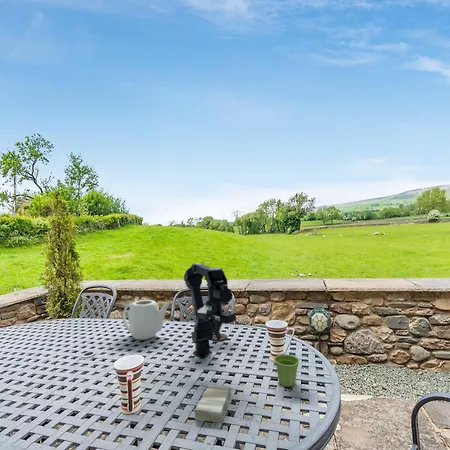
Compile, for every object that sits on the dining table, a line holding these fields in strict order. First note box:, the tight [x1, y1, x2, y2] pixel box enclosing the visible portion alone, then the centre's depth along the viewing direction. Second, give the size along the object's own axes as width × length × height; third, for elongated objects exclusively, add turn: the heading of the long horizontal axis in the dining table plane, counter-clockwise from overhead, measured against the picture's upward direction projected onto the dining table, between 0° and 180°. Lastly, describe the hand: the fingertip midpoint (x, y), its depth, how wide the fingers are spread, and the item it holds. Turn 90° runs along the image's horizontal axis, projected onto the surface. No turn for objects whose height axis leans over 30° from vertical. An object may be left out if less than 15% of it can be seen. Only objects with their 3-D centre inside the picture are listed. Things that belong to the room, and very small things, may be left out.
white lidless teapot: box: [122, 299, 171, 340], centre depth 168 cm, size 16×27×19 cm, turn 83°
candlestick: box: [211, 307, 229, 342], centre depth 163 cm, size 11×11×35 cm
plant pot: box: [273, 353, 301, 388], centre depth 115 cm, size 9×9×9 cm
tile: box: [194, 384, 232, 423], centre depth 100 cm, size 3×8×15 cm
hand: (215, 335), depth 130 cm, fingers closed
